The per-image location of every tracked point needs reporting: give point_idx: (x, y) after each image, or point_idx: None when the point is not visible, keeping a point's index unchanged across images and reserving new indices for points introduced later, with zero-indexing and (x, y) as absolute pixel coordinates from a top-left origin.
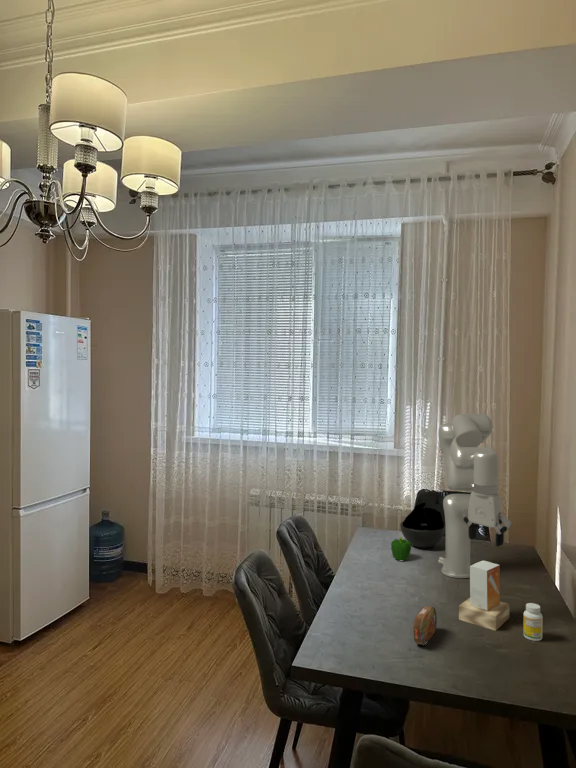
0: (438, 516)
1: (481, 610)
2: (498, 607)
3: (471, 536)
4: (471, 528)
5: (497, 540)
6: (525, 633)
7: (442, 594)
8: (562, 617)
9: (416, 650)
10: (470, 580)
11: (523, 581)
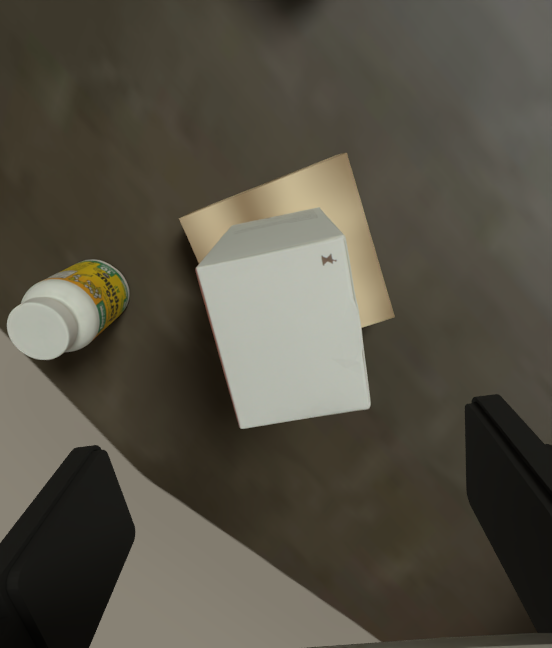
0: None
1: (252, 209)
2: None
3: (477, 428)
4: (545, 523)
5: (39, 500)
6: (93, 262)
7: (548, 285)
8: (170, 480)
9: None
10: (327, 220)
11: (422, 593)
